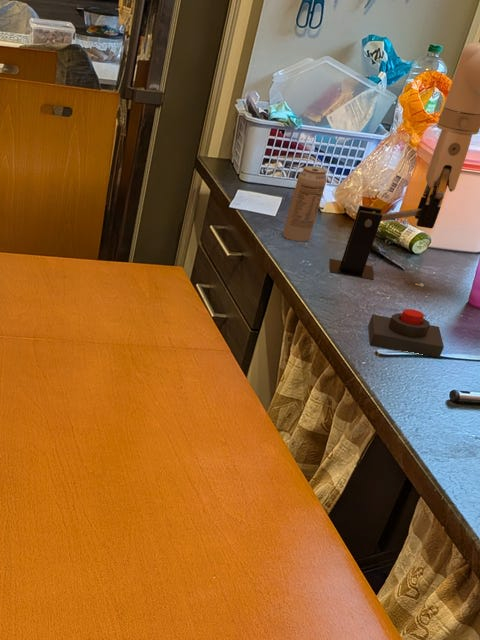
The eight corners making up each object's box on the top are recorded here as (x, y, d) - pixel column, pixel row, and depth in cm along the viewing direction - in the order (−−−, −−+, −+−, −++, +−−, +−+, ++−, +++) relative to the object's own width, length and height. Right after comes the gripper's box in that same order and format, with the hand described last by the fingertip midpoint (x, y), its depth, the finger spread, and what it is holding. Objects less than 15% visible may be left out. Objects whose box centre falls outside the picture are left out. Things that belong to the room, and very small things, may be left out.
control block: (434, 338, 171) (443, 316, 168) (439, 358, 163) (448, 336, 161) (368, 325, 173) (375, 304, 170) (369, 345, 165) (377, 323, 162)
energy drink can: (307, 239, 211) (328, 168, 201) (308, 247, 207) (329, 174, 197) (281, 235, 212) (300, 163, 202) (281, 243, 207) (301, 170, 198)
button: (419, 320, 167) (423, 311, 166) (421, 327, 164) (425, 318, 163) (399, 317, 167) (402, 307, 166) (400, 324, 165) (404, 314, 163)
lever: (428, 213, 186) (429, 200, 185) (430, 220, 183) (431, 207, 181) (360, 223, 191) (360, 211, 189) (360, 230, 187) (360, 217, 186)
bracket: (370, 271, 197) (392, 208, 189) (372, 285, 191) (394, 220, 182) (328, 264, 199) (347, 200, 190) (327, 277, 192) (348, 212, 184)
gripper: (486, 132, 167) (446, 238, 178) (475, 116, 180) (439, 215, 191) (443, 126, 168) (406, 231, 180) (436, 110, 181) (401, 209, 192)
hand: (423, 222), depth 185 cm, fingers closed on lever, 5 cm apart
